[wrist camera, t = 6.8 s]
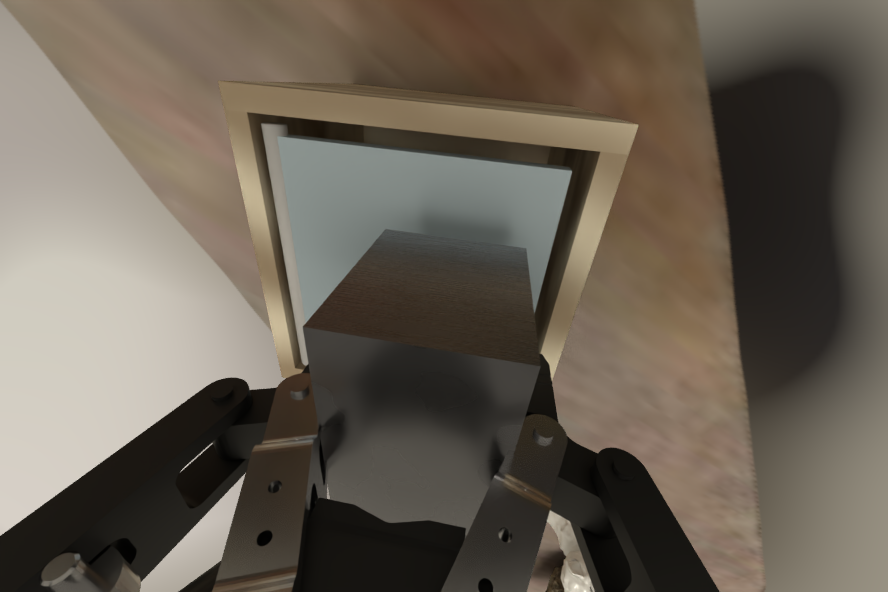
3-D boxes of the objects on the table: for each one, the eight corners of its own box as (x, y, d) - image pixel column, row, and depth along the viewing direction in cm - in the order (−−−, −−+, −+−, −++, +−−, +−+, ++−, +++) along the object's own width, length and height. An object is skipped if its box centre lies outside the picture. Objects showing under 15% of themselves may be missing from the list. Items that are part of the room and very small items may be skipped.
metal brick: (385, 228, 12) (302, 326, 7) (526, 248, 12) (540, 366, 7) (386, 388, 17) (333, 520, 12) (490, 406, 16) (483, 552, 11)
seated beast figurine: (606, 515, 48) (633, 631, 37) (540, 510, 49) (549, 620, 39) (611, 472, 43) (644, 591, 33) (539, 469, 45) (549, 581, 35)
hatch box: (351, 83, 26) (217, 80, 14) (574, 106, 24) (638, 124, 12) (360, 275, 34) (282, 377, 22) (526, 300, 33) (537, 423, 21)
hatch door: (269, 121, 15) (255, 123, 14) (571, 156, 14) (575, 160, 13) (306, 353, 22) (298, 364, 21) (511, 389, 21) (511, 401, 20)
